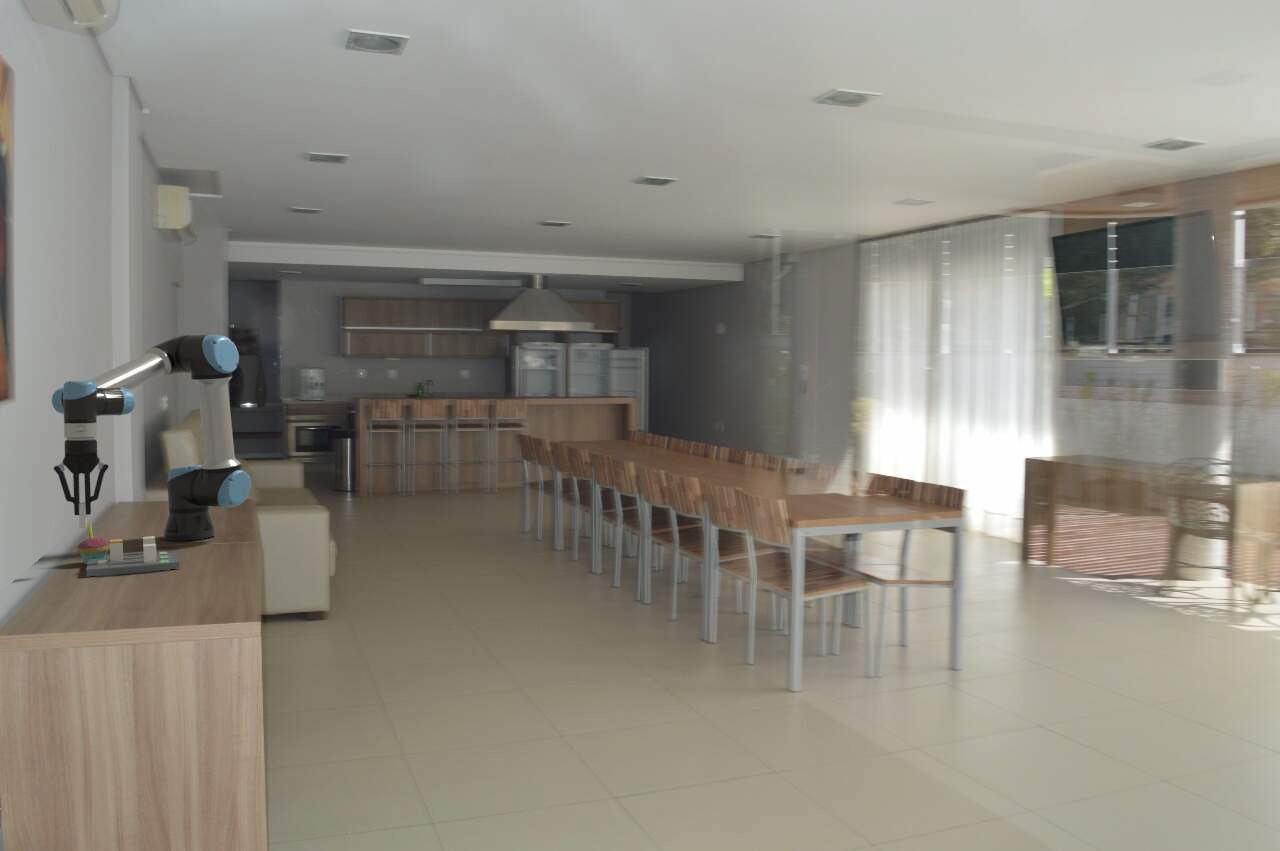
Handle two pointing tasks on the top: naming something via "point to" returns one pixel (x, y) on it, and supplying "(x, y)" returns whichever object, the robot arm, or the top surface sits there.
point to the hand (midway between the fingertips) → (83, 527)
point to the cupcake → (93, 547)
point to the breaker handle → (116, 550)
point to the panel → (134, 561)
